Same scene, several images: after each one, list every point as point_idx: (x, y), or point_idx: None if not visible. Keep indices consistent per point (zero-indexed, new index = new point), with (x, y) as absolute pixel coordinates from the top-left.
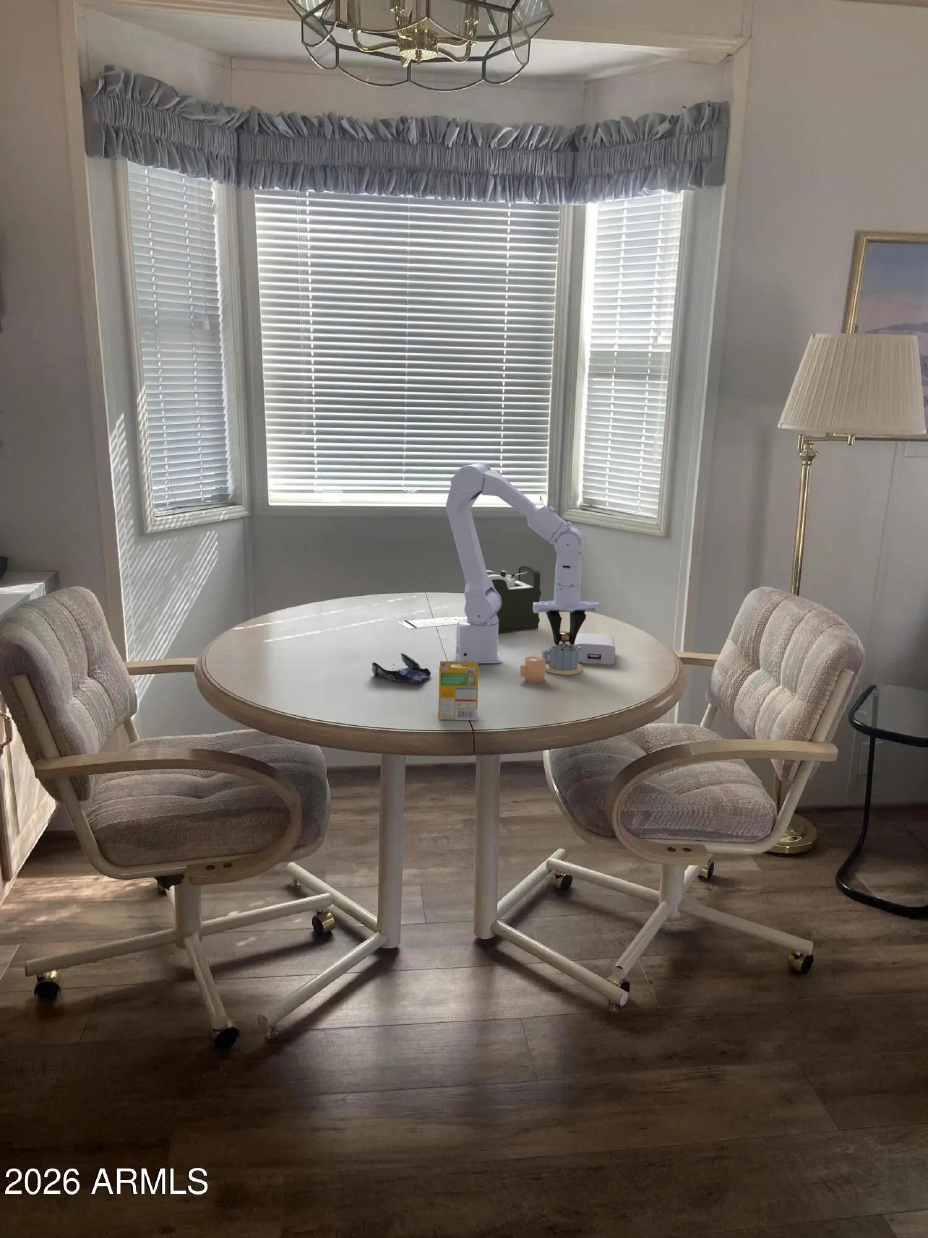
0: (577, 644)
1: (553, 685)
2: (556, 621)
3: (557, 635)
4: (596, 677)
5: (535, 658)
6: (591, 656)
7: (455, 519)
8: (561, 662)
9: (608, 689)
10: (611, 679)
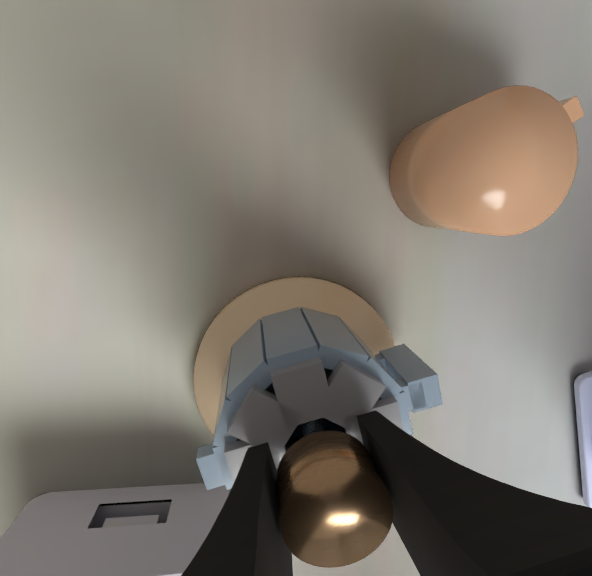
0: None
1: (347, 95)
2: (522, 519)
3: (403, 442)
4: (117, 274)
5: (509, 184)
6: (148, 516)
7: None
8: (315, 322)
9: (33, 71)
10: (30, 257)
